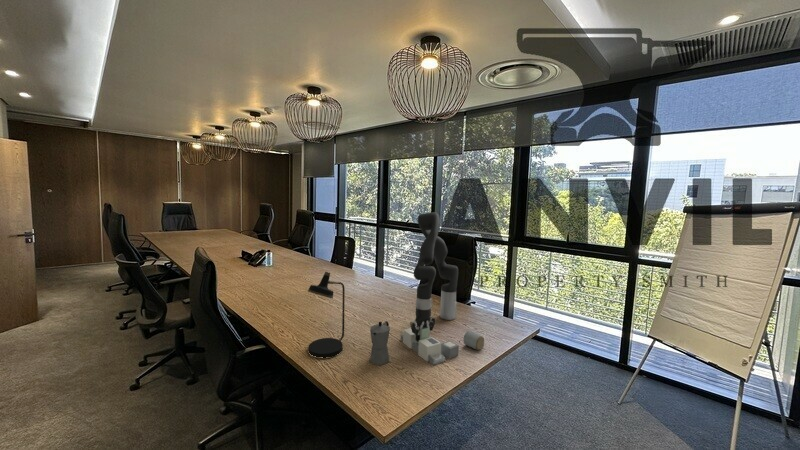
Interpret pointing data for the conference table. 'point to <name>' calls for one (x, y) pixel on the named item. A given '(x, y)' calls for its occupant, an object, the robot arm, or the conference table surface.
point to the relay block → (449, 349)
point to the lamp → (335, 346)
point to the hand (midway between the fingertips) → (422, 340)
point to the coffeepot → (379, 343)
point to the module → (424, 333)
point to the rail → (431, 359)
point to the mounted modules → (422, 344)
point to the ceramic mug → (473, 340)
